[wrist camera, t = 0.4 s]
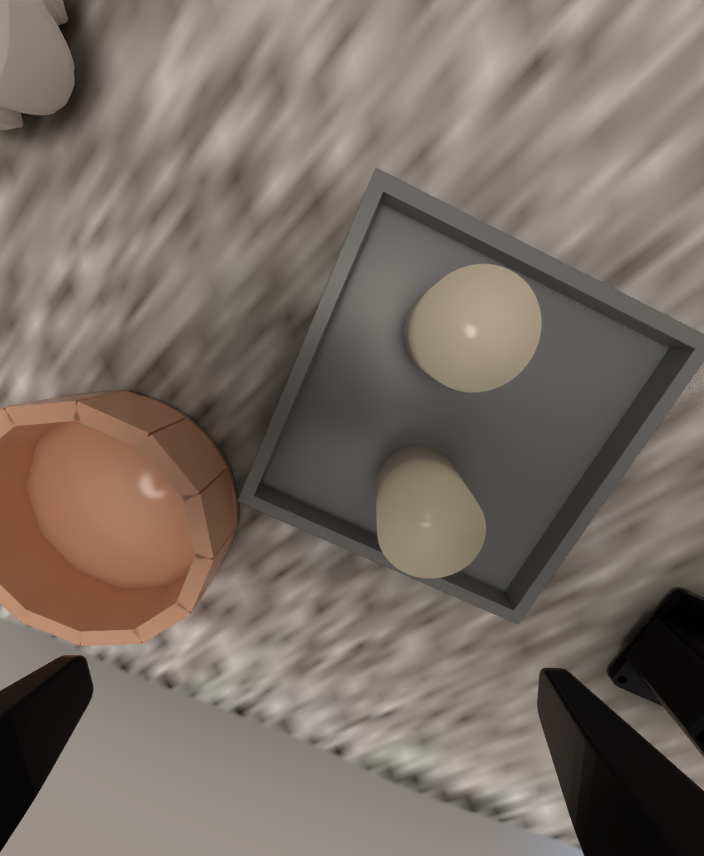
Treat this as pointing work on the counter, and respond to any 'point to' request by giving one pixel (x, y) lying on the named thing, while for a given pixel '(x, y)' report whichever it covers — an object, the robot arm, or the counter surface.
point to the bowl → (109, 515)
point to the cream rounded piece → (426, 514)
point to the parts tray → (466, 399)
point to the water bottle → (33, 60)
